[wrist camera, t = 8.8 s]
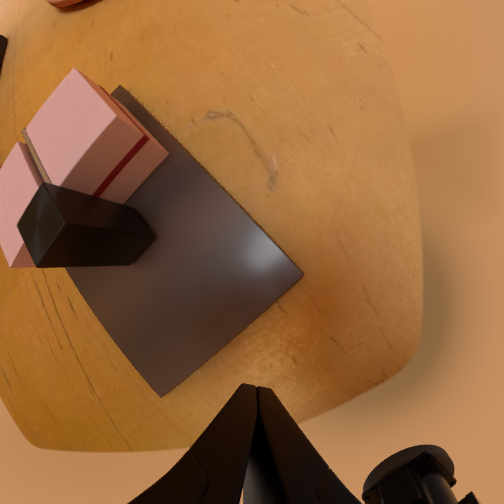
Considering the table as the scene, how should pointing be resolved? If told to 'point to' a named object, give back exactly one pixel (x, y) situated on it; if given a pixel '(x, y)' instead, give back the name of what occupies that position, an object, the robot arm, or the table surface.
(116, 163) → the cake
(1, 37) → the camera
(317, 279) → the table surface
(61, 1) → the saucer
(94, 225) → the knife
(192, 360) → the board
